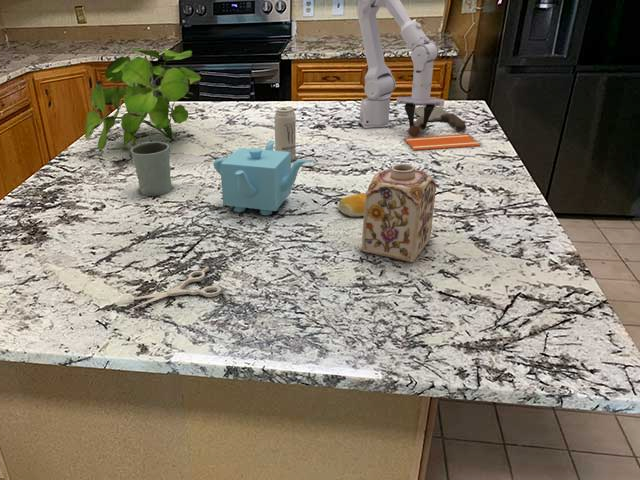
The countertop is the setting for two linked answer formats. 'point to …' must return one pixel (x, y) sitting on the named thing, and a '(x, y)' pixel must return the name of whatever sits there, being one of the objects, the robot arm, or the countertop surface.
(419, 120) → the rolling pin
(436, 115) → the cleaver
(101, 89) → the indoor plant
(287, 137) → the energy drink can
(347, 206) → the bread roll
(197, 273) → the scissors
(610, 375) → the countertop surface
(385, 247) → the decorative jar
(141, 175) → the grey cup
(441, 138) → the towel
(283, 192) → the teakettle
